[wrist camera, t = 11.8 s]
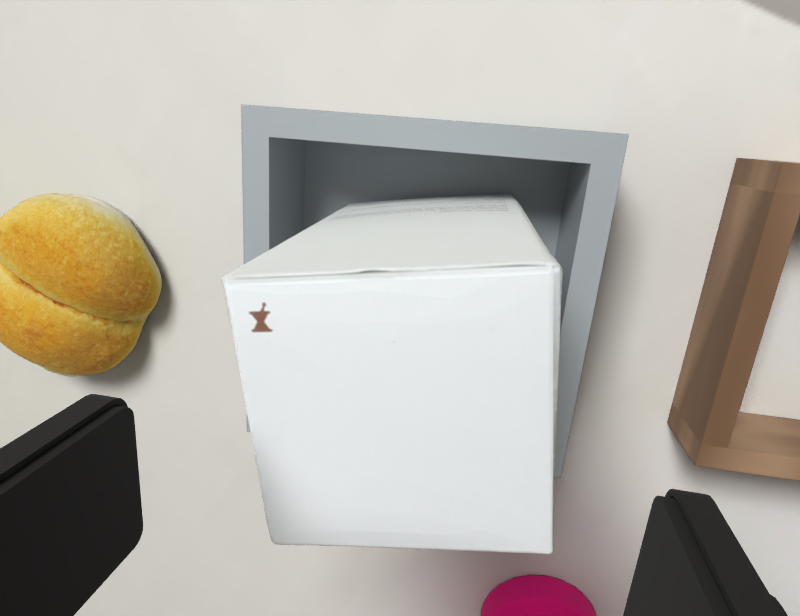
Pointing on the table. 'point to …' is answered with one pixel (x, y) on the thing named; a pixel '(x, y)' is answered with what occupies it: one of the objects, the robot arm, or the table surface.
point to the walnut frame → (739, 329)
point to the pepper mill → (536, 598)
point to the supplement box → (404, 376)
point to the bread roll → (73, 283)
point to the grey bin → (441, 192)
